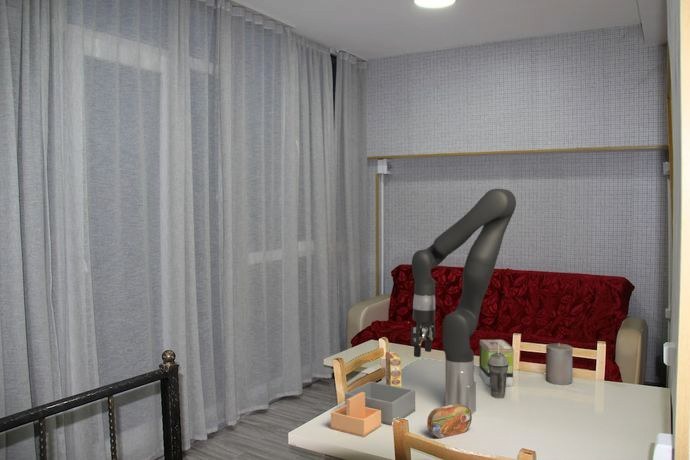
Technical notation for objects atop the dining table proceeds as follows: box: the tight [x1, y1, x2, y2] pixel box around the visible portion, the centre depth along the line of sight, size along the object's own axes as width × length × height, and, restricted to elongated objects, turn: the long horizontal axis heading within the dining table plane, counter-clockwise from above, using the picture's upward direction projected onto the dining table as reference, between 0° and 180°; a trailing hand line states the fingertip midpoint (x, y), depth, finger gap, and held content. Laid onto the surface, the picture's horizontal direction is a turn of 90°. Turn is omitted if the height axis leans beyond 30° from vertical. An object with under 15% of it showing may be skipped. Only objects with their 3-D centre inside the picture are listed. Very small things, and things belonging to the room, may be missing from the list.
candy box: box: [384, 351, 402, 387], centre depth 202 cm, size 9×4×15 cm, turn 8°
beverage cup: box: [488, 339, 509, 399], centre depth 203 cm, size 7×7×20 cm
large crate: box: [344, 381, 416, 427], centre depth 187 cm, size 18×16×7 cm
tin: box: [426, 404, 473, 439], centre depth 169 cm, size 15×3×8 cm, turn 117°
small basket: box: [330, 392, 382, 438], centre depth 175 cm, size 12×10×10 cm
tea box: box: [478, 339, 515, 387], centre depth 222 cm, size 15×10×15 cm
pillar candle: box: [545, 342, 574, 386], centre depth 220 cm, size 10×10×15 cm
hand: (422, 354), depth 195 cm, fingers open, 8 cm apart
